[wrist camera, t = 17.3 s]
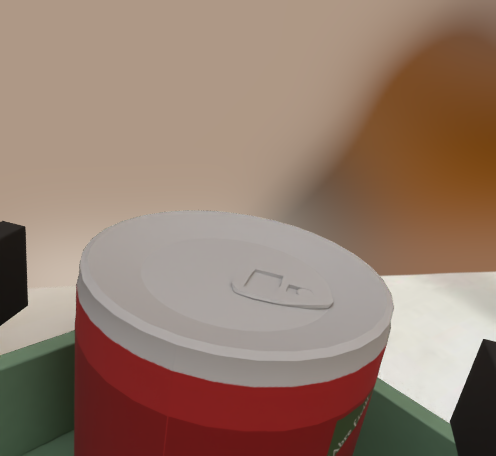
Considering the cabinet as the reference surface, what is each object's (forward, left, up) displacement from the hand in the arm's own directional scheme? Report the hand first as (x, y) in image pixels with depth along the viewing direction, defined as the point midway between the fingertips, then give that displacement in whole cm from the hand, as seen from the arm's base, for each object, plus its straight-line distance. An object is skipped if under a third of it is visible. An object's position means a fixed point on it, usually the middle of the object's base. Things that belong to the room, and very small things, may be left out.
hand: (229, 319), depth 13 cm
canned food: (0, 0, -9) cm, 9 cm away
